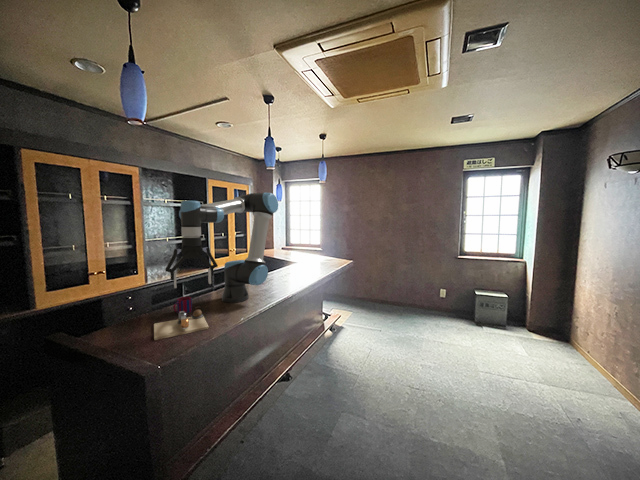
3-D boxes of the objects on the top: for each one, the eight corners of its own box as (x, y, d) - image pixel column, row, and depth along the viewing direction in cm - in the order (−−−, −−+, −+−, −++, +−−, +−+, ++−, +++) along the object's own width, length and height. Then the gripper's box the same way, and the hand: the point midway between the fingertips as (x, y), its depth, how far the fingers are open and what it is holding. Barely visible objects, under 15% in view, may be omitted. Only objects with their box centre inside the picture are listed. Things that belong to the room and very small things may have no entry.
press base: (202, 316, 125) (202, 307, 124) (208, 328, 111) (208, 318, 111) (154, 325, 114) (153, 315, 113) (154, 340, 100) (153, 329, 100)
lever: (185, 316, 120) (185, 308, 120) (189, 329, 107) (189, 320, 107) (177, 318, 119) (177, 309, 118) (181, 330, 105) (180, 321, 105)
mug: (195, 310, 133) (194, 297, 132) (178, 317, 124) (177, 303, 123) (185, 308, 136) (185, 296, 135) (168, 315, 126) (167, 301, 126)
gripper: (220, 235, 119) (221, 279, 121) (157, 237, 106) (159, 287, 107) (223, 236, 113) (224, 283, 115) (157, 238, 99) (159, 291, 101)
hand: (193, 285), depth 111 cm, fingers open, 13 cm apart
